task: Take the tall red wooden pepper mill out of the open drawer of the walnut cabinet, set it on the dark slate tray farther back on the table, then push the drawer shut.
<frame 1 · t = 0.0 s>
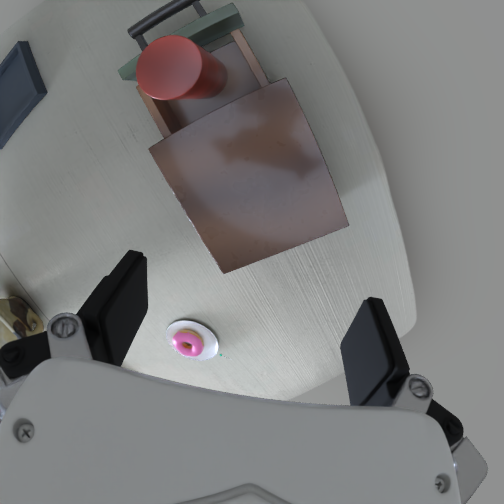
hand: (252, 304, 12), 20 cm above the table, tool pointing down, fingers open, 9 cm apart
drawer: (199, 74, 22), point 3 cm above the table, slide at 7.0 cm, touching grinder
bowl: (23, 308, 45), on the table
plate: (201, 340, 42), on the table
cabinet: (255, 166, 29), on the table
grinder: (204, 77, 23), point 2 cm above the table, touching drawer
tray: (11, 96, 24), on the table
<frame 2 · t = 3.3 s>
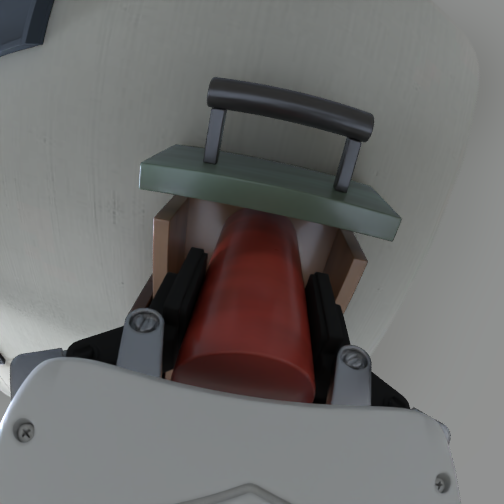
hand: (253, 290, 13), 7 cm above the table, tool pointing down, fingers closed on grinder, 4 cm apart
drawer: (258, 249, 15), point 3 cm above the table, slide at 7.0 cm, touching grinder
cabinet: (234, 339, 24), on the table
grinder: (258, 241, 17), point 2 cm above the table, touching drawer, gripper
tray: (8, 6, 9), on the table
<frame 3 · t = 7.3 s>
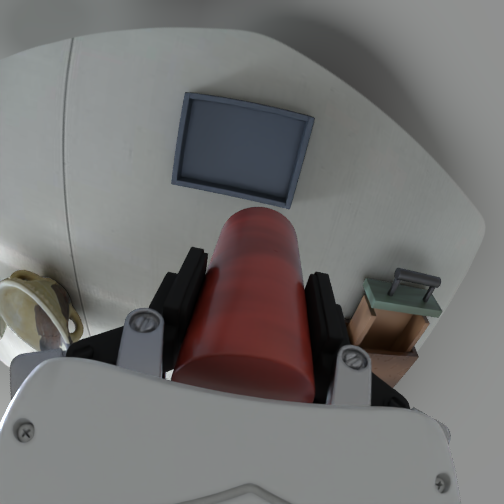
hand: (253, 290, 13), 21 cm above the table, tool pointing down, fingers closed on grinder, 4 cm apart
drawer: (392, 319, 36), point 3 cm above the table, slide at 7.0 cm
bowl: (56, 292, 43), on the table
cabinet: (357, 351, 44), on the table
grinder: (258, 242, 17), point 17 cm above the table, touching gripper
flower pot: (2, 305, 48), on the table
tray: (240, 147, 30), on the table
when the fingers open (5 cm above the table, at t = 11.5 s): grinder stays where it is, resting on tray.
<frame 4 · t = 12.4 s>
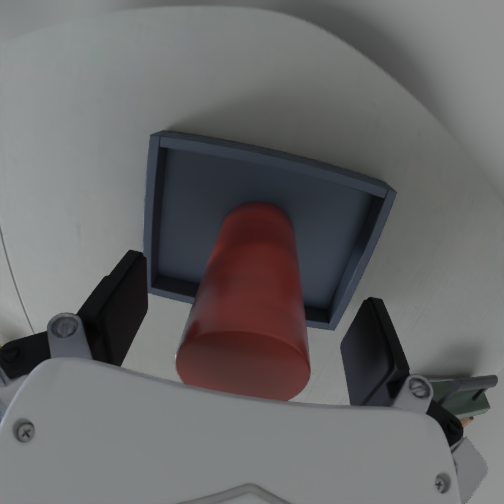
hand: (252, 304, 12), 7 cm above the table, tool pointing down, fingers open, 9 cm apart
drawer: (434, 417, 24), point 3 cm above the table, slide at 7.0 cm
grinder: (257, 235, 17), resting on tray
tray: (258, 231, 18), on the table
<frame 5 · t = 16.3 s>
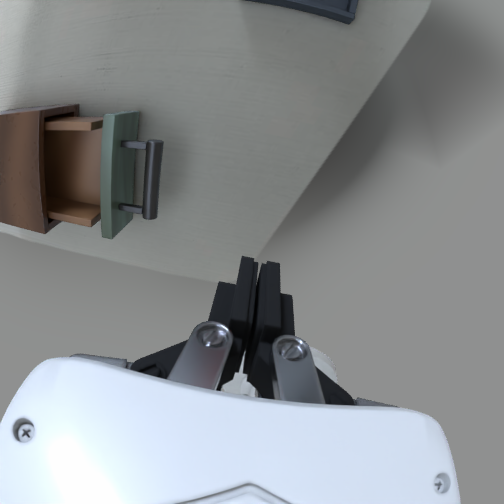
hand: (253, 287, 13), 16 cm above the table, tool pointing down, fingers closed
drawer: (87, 169, 24), point 3 cm above the table, slide at 7.0 cm
cabinet: (37, 156, 26), on the table
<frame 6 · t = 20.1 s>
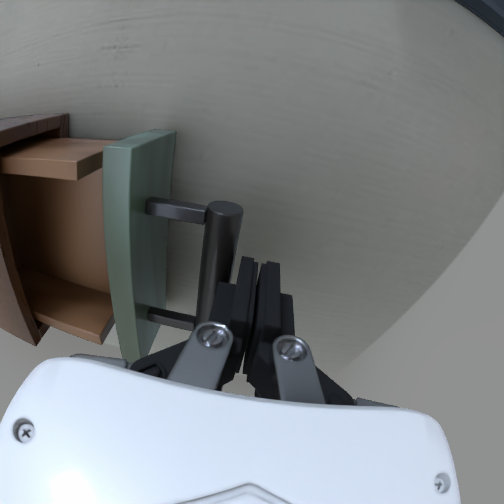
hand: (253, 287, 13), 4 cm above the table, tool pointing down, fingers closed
drawer: (79, 242, 13), point 3 cm above the table, slide at 6.2 cm, touching gripper
cabinet: (9, 199, 16), on the table
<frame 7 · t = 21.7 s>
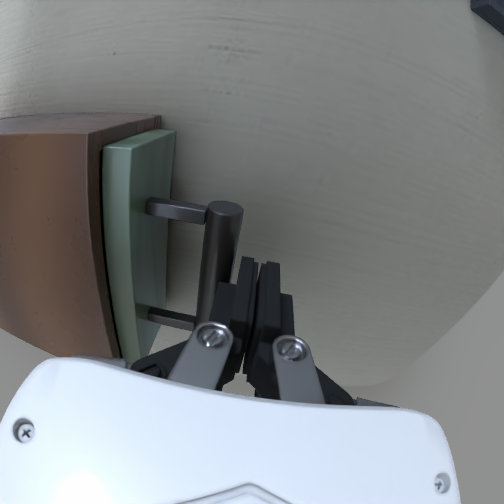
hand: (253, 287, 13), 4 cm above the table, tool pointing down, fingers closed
drawer: (79, 242, 13), point 3 cm above the table, slide at 0.0 cm, touching cabinet, gripper
cabinet: (63, 208, 16), on the table
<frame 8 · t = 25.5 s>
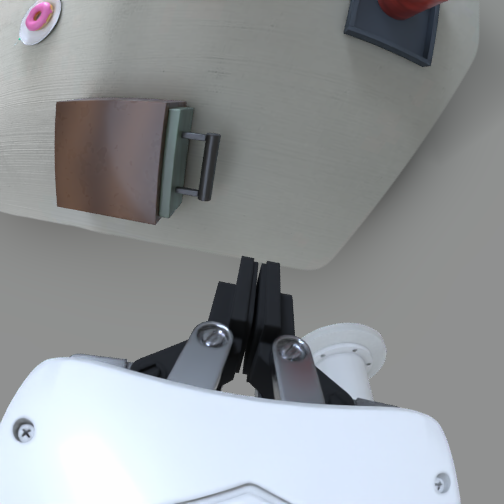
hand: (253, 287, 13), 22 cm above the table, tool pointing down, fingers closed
drawer: (144, 156, 29), point 3 cm above the table, slide at 0.0 cm, touching cabinet
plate: (37, 26, 22), on the table
cabinet: (128, 147, 31), on the table
grinder: (394, 4, 20), resting on tray
tray: (393, 5, 20), on the table
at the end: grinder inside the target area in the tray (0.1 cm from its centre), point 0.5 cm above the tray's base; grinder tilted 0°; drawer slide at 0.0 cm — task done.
